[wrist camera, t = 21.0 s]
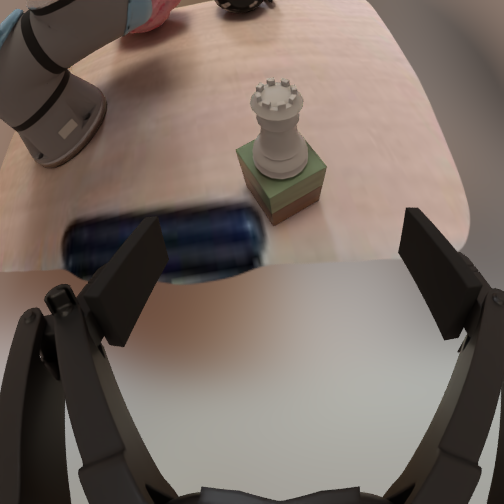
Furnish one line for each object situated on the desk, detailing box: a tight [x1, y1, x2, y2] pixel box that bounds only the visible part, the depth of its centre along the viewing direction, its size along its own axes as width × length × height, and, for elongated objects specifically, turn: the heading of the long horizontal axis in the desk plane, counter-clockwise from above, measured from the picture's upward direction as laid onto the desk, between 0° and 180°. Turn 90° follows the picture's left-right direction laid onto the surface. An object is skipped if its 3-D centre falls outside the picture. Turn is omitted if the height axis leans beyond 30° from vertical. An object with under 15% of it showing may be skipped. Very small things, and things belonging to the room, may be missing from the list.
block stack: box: [236, 140, 327, 226], centre depth 26 cm, size 6×6×7 cm
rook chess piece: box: [250, 78, 308, 179], centre depth 19 cm, size 4×4×8 cm
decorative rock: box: [130, 0, 181, 33], centre depth 34 cm, size 19×14×15 cm
